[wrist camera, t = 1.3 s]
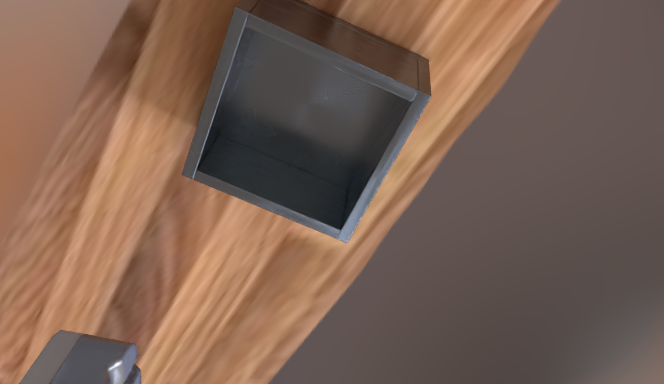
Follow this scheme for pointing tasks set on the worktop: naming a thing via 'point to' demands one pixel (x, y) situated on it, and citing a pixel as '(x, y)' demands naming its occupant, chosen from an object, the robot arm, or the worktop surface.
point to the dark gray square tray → (305, 114)
